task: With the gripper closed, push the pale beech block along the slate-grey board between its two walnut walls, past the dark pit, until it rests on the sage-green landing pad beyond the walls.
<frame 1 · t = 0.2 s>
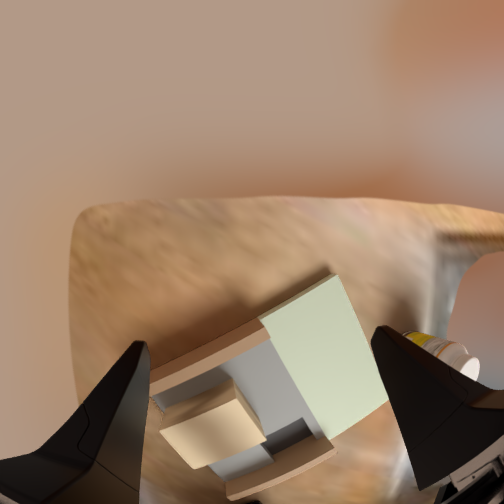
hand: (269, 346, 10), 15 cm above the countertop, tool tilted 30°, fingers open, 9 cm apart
board: (276, 394, 24), on the countertop
block: (212, 414, 22), point 1 cm above the countertop, touching board
supplement bottle: (403, 352, 27), on the countertop
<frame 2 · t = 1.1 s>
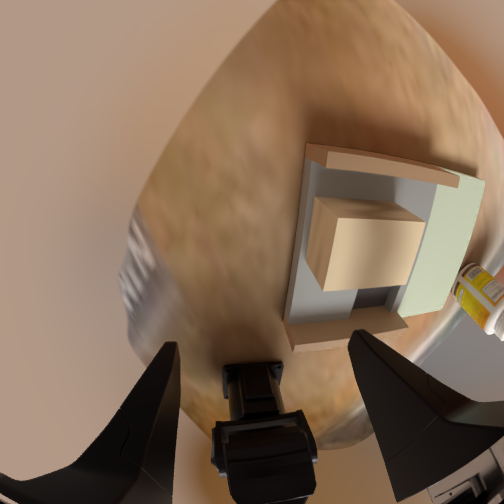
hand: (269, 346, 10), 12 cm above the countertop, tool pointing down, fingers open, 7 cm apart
board: (395, 244, 23), on the countertop
block: (352, 230, 20), point 1 cm above the countertop, touching board
supplement bottle: (463, 278, 28), on the countertop
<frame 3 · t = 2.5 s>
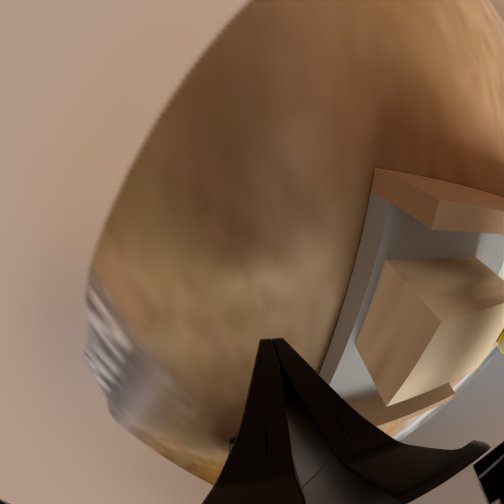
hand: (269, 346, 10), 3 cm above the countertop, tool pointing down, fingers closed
board: (456, 301, 15), on the countertop
block: (422, 300, 12), point 1 cm above the countertop, touching board
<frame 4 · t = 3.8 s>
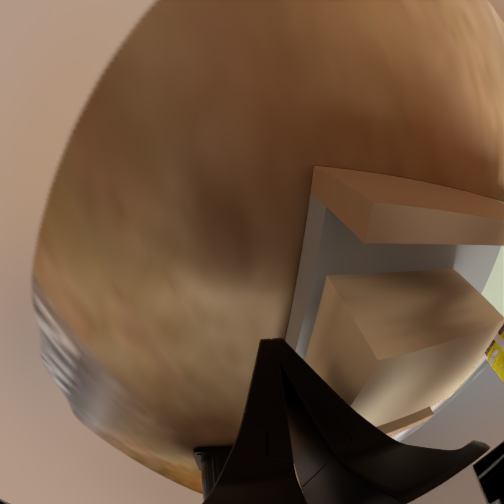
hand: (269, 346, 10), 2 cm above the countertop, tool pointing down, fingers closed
board: (434, 315, 14), on the countertop
block: (384, 318, 11), point 1 cm above the countertop, touching board, gripper
supplement bottle: (496, 331, 19), on the countertop
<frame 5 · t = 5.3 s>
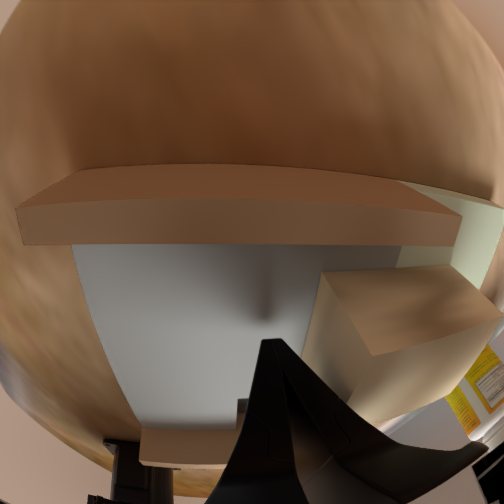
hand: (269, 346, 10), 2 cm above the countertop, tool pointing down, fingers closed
board: (316, 334, 13), on the countertop
block: (380, 316, 11), point 2 cm above the countertop, touching gripper
supplement bottle: (452, 350, 18), on the countertop
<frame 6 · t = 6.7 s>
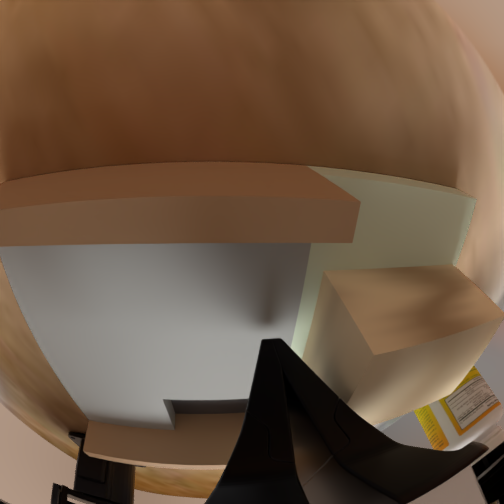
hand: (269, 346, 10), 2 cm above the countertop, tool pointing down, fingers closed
board: (239, 339, 13), on the countertop
block: (382, 315, 11), point 1 cm above the countertop, touching board, gripper
supplement bottle: (425, 358, 17), on the countertop
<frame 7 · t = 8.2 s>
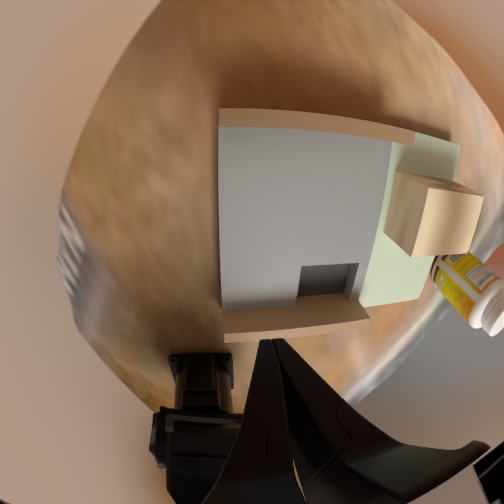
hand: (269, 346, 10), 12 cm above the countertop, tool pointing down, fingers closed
board: (347, 220, 21), on the countertop
block: (421, 204, 19), point 1 cm above the countertop, touching board
supplement bottle: (445, 263, 25), on the countertop
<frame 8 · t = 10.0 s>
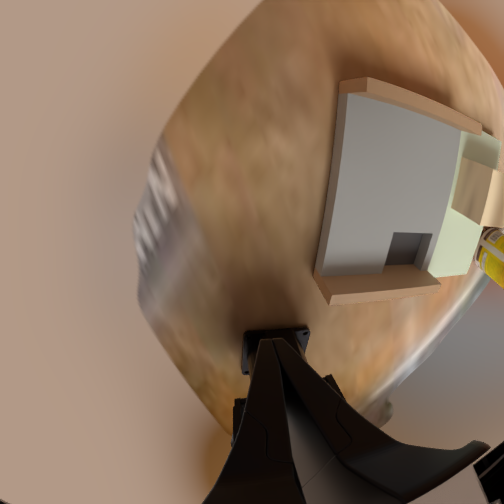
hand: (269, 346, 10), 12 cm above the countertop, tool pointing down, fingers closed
board: (424, 196, 21), on the countertop
block: (475, 187, 20), point 1 cm above the countertop, touching board
supplement bottle: (483, 245, 26), on the countertop
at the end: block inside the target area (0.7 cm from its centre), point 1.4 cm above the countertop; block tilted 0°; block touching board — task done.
